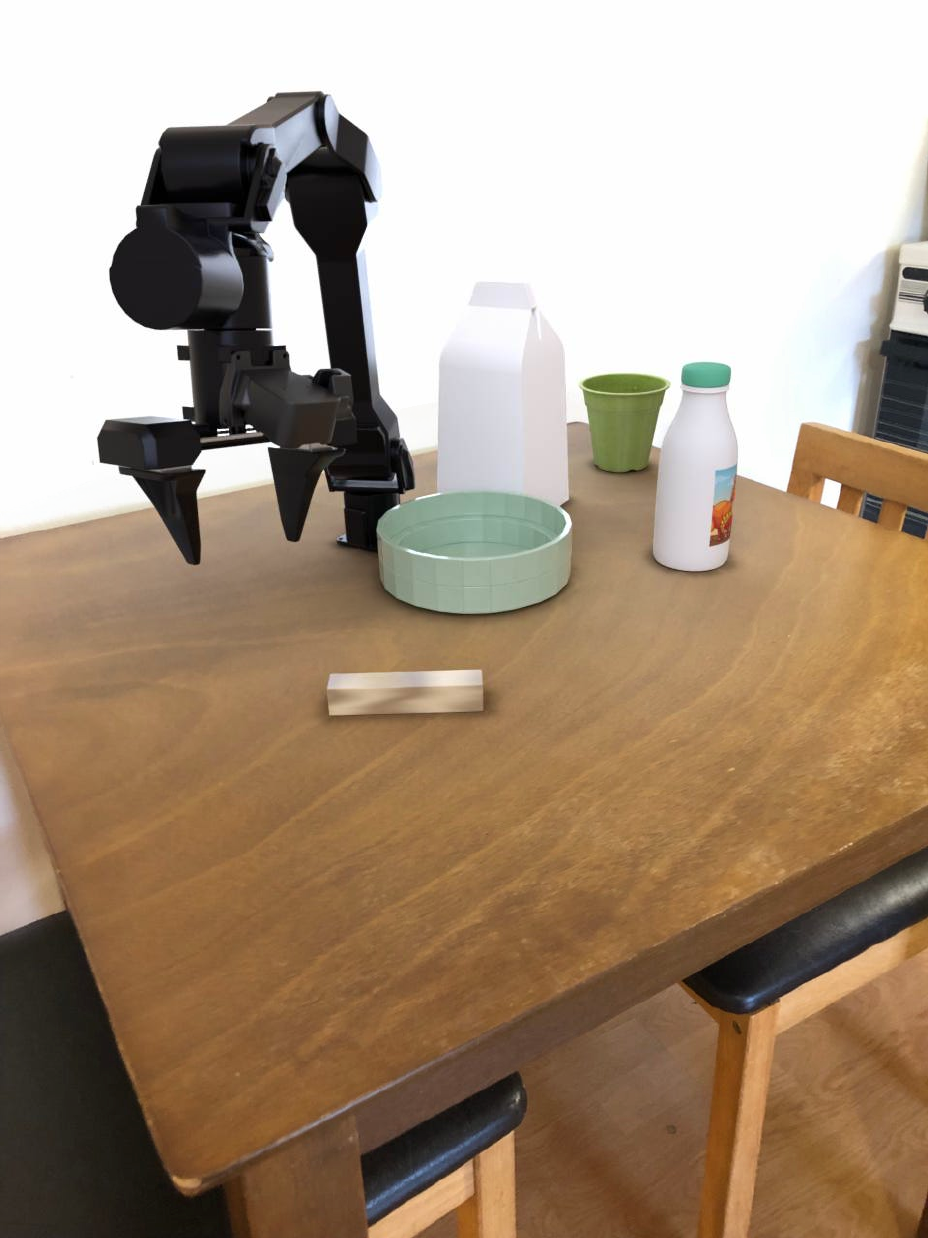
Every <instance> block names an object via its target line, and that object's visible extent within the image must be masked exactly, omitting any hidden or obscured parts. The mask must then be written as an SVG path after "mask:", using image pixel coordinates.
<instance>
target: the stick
mask: <svg viewBox="0 0 928 1238" xmlns="http://www.w3.org/2000/svg"><path fill="white" fill-rule="evenodd" d="M326 698H327V706H328V715H329V716H361V715H362V716H363V715H396V714H398V715H399V714H402V715H403V714H432V713H434V714H435V713H437V714H438V713H466V712H467V713H471V712H484V678H483V669H456V670H455V669H453V670H420V671H419V670H417V671H383V672H352V673H351V672H345V673H330V674H329V677H328V682H327V686H326Z"/></svg>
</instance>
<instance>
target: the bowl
mask: <svg viewBox="0 0 928 1238" xmlns="http://www.w3.org/2000/svg"><path fill="white" fill-rule="evenodd" d="M377 542H378V552H377V554H378V567H379V579H380V581H381V584H382V585H383V588H384V590H386V591H387V592H388V593H389V594H391V595H392V596H393V597H394V598H395V599H397V600H400V601H402V602H405V603H407V604H409V605H412V606H415V607H417V608H422V609H426V610H431V611H434V612H435V611H436V612H440V613H441V612H442V613H447V614H449V613H450V614H459V615H460V614H461V615H482V614H483V615H485V614H495V613H502V612H503V613H504V612H508V611H514V610H518V609H521V608H525V607H528V606H531V605H534V604H538V603H542V602H543V601H545V600H547V599H549V598H551V597H553V596H555V595H557V594H558V593H559V592H560V591H561V590H562V589H563V588H564V587H566V586H567V584H568V582H569V580H570V577H571V573H572V550H573V549H572V547H573V546H572V545H573V544H572V543H573V522H572V519H571V515H570V514H569V513H568V512H567V511H566V510H564V508H562V507H561V505H560V506H558V505H556V504H554V503H552V502H550V501H548V500H545V499H541V498H538V497H534V496H531V495H527V494H520V493H514V492H508V491H507V492H506V491H493V490H463V491H453V492H444V493H437V492H436V493H432V494H428V495H424V496H419V497H416V498H413V499H410V500H407V501H405V502H400V504H399V505H397V506H395V507H394V508H392V509H390V510H388V511H387V512H386V513H385V514H384V515H383V516H382V517H381V518H380V519H379V520H378V525H377Z"/></svg>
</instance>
